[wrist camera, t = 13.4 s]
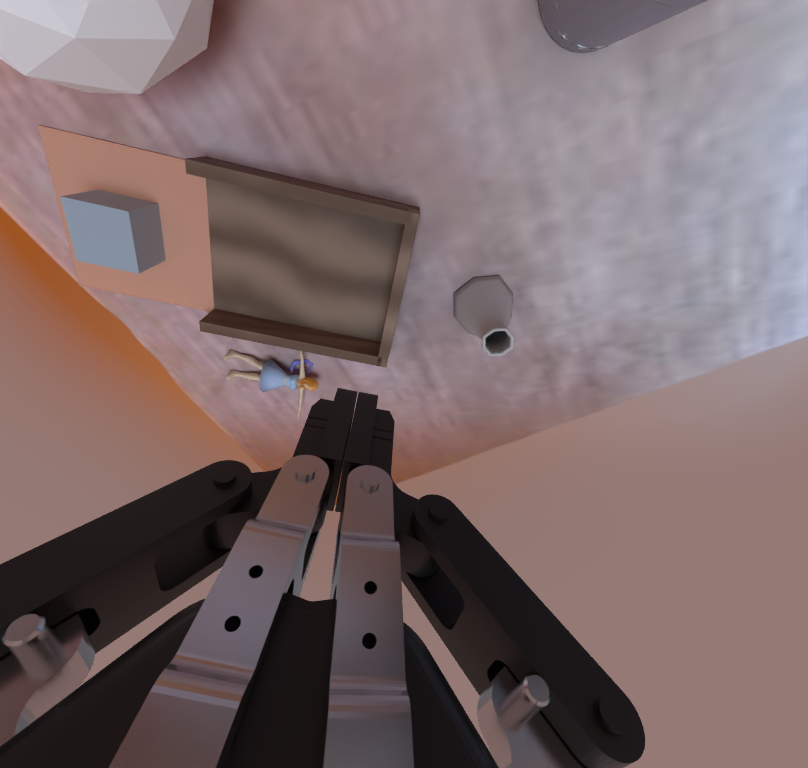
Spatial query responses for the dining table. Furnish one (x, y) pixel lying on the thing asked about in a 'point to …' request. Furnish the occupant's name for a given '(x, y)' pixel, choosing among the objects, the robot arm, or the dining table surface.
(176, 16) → the geometric orb
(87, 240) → the slate block
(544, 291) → the dining table surface
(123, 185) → the terracotta mat
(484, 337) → the flask
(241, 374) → the fairy figurine
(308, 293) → the walnut cubby
